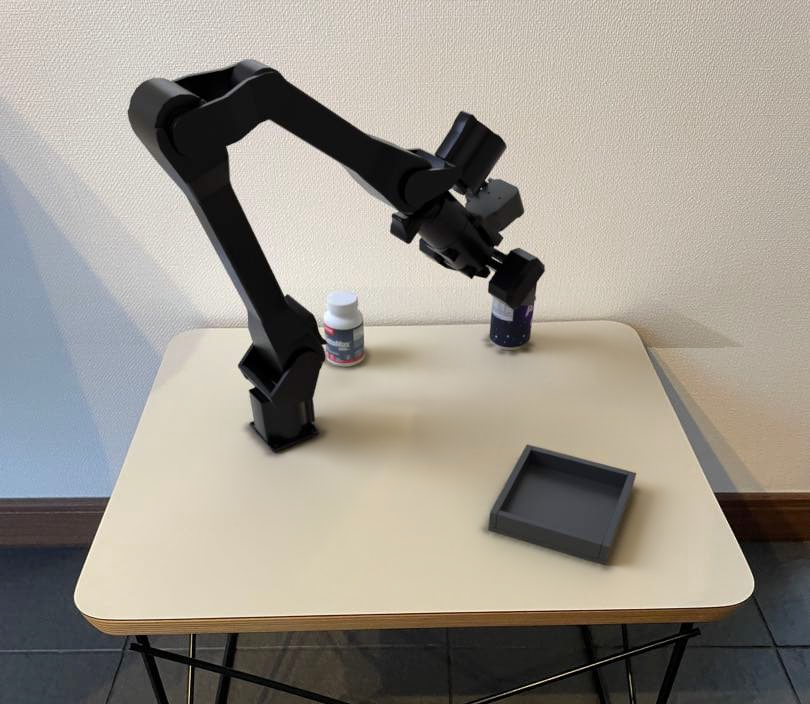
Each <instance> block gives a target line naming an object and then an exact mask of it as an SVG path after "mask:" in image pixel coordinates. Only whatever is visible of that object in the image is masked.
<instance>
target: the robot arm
mask: <svg viewBox="0 0 810 704" xmlns="http://www.w3.org/2000/svg"><path fill="white" fill-rule="evenodd" d="M127 118H128V122H129V124H130V127H131V130H132V131H133V133H134V135H135V136H136V137H137V139H138V140H139V142H140V143H141V144H142V145H143V146H144V148H146V151H148V152H149V154H150V155H151V156H152V158H153V159H154V160H155V162H156V163H157V164H158V165H159V166H160V167H161V169H162V170H163V171H164V172H165V173H166V174H167V176H168V177H169V178H170V179H171V180H172V181H173V182H174V183H175V185H176V186H177V187H178V188H179V189H180V190H181V192H182V193H183V194H184V196H185V197H186V199H187V201H188V202H189V205H190V206H191V208H192V210H193V212H194V214H195V216H196V218H197V219H198V221H199V223H200V225H201V227H202V229H203V230H204V232H205V234H206V236H207V238H208V239H209V242H210V243H211V245H212V247H213V249H214V251H215V253H216V254H217V257H218V258H219V260H220V262H221V264H222V266H223V268H224V270H225V272H226V273H227V275H228V277H229V278H230V279H229V280H231V283H232V284H233V286H234V288H235V290H236V292H237V293H238V295H239V297H240V299H241V301H242V303H243V305H244V307H245V308H246V309H245V310H246V312H247V328H248V331H249V335H250V338H251V342H252V343H251V344H250V345H249V347H248V348H247V350H246V351H245V353H244V355H243V356H242V358H241V359H240V361H239V362H238V364H237V368H238V369H239V371H240V373H241V374H242V376H243V377H244V378H245V379H246V380H248V382H250V383H251V384H252V385H253V386H254V387H252V388H249V389H248V395H249V401H250V406H251V412H252V418H253V421H250V422H249V425H248V426H249V428H250V429H251V431H252V432H253V433H254V434H255V435H256V436H257V437H258V438H259V439H260V440H261V441H262V443H264V444H265V446H266V447H267V448H268V449H269V450H270V451H271V452H274V453H275V452H276V453H277V452H279V451H281V450H284V449H286V448H289V447H291V446H294V445H297V444H300V443H301V442H304V441H306V440H309V439H311V438H313V437H316V436H318V435H319V434H320V429H319V428H318V427H317V426H316V425H315V424H314V423H315V422H316V413H315V405H314V396H315V392H316V388H317V383H318V380H319V376H320V371H321V370H322V368H323V364H324V363H325V362H326V360H327V356H326V349H325V348H324V346H326V344H327V341H326V340H325V338H323V335H322V334H321V333H320V329H319V325H318V322H317V318H316V317H315V315H314V314H313V313H312V312H311V311H310V310H308V309H307V308H306V307H305V306H304V305H302V303H300V302H298V301H297V299H295V298H294V297H293V296H291V295H290V294H289V293H287V294H286V295H285V293H284V292H283V290H282V288H281V286H280V284H279V282H278V279H277V277H276V275H275V272H274V271H273V269H272V267H271V265H270V263H269V261H268V259H267V257H266V254H265V252H264V251H263V248H262V247H261V244H260V242H259V240H258V238H257V236H256V234H255V231H254V230H253V227H252V225H251V223H250V221H249V219H248V217H247V215H246V213H245V211H244V209H243V207H242V205H241V201H240V200H239V198H238V196H237V194H236V192H235V190H234V188H233V185H232V182H231V167H230V155H229V151H228V147H229V146H231V145H234V144H236V143H238V142H240V141H242V140H243V139H244V138H245V137H246V136H248V135H249V134H250V133H251V132H253V130H254V129H256V128H257V127H258V126H259V125H260V124H263V123H264V122H267V121H270V122H271V123H273V124H275V125H276V126H278V127H280V128H281V129H283V130H284V131H286V132H287V133H289V134H291V135H292V136H294V137H296V138H297V139H299V140H301V141H302V142H304V143H306V144H307V145H308V146H310V147H312V148H313V149H315V150H317V151H319V152H320V153H322V154H324V155H325V156H327V157H329V158H330V159H332V160H334V161H335V162H336V163H338V164H339V165H340V166H341V167H342V168H343V169H345V171H346V172H347V174H348V175H349V176H350V177H351V178H352V179H353V180H354V181H355V183H357V184H358V185H359V186H360V187H361V188H362V189H363V190H364V191H366V193H368V194H369V195H370V196H371V197H373V198H375V199H377V200H379V201H380V202H382V203H383V204H385V205H387V206H388V207H391V208H392V209H394V210H396V212H393V213H392V214H391V222H390V228H389V233H390V235H392V236H394V237H395V238H397V239H398V240H400V241H402V242H403V243H405V244H406V245H410V244H412V242H413V240H414V239H415V237H416V236H417V235H418V236H419V237H420V238H419V240H418V250H419V251H420V252H421V253H422V254H423V255H424V256H426V258H428V259H430V260H432V261H433V262H435V263H436V264H438V265H440V266H441V267H443V268H445V269H448V270H452V271H454V272H460V273H461V274H462V275H463V276H465V277H467V278H469V279H470V280H473V279H474V277H477V278H482V279H488V278H489V276H490V275H491V272H492V271H493V272H494V273H493V275H492V276H491V278H490V279H489V281H488V285H487V286H488V287H487V293H488V294H489V295H490V296H492V298H493V297H494V298H495V299H497V300H498V301H499V302H501V303H503V304H504V305H506V306H508V307H509V308H511V309H512V310H514V309H517V308H519V307H520V306H521V305H529V306H531V305H532V304H533V303H534V304H535V303H536V300H537V296H536V295H535V292H534V288H533V287H534V286H535V284H536V283H537V284H538V282H539V280H540V279H541V278H542V276H543V275H544V273H546V272H545V271H546V266H545V263H543V262H542V261H541V260H540V259H539V257H537V256H535V255H534V254H531V253H530V252H528V251H527V250H525V249H523V248H520V247H516V248H513V249H510V250H509V252H508V253H504V252H502V251H500V250H499V249H497V248H495V247H499V246H500V245H501V243H502V241H503V240H504V238H505V237H504V236H503V235H502V234H501V232H503V231H504V230H505V229H506V228H508V227H510V225H511V224H512V223H513V222H515V221H516V220H517V219H520V218H521V217H522V216H523V215H524V213H525V207H524V204H523V200H522V197H521V192H520V189H519V187H517V186H516V185H514V184H511V183H510V182H507V181H505V180H503V179H502V178H495V179H494V178H492V177H489V176H490V174H491V172H492V171H493V169H494V168H495V167H496V165H497V164H498V163H499V161H500V159H501V158H502V156H503V155H504V153H505V152H506V150H507V148H508V147H507V144H506V142H505V140H504V139H503V138H502V137H501V136H500V135H499V134H497V133H495V132H494V131H493V130H491V129H490V128H489V127H488V126H486V125H485V124H484V123H482V121H479V120H478V119H477V117H476V116H475V115H474V114H473V113H471V112H468V111H465V110H459V112H458V114H457V116H456V117H455V119H454V120H453V122H452V125H451V127H450V129H449V131H448V132H447V134H446V135H445V137H444V139H443V140H442V141H441V143H440V144H439V146H438V147H437V149H436V151H435V152H434V153H431V152H430V151H429V152H428V151H427V150H425V149H424V148H423V149H422V148H421V147H414V148H412V147H411V148H404V147H401V146H399V145H398V144H396V143H393V142H391V141H389V140H386V139H383V138H381V137H379V136H376V135H373V134H370V133H367V132H364V131H363V130H361V129H360V128H358V127H357V126H355V125H354V124H352V123H350V121H348V120H346V119H345V118H343V117H342V116H340V115H339V114H337V113H336V112H335V111H333V110H331V109H330V108H328V106H326V105H324V104H322V103H321V102H320V101H318V100H316V99H315V98H313V97H312V96H311V95H309V94H308V93H306V92H305V91H303V90H302V89H300V88H299V87H297V86H296V85H294V84H293V83H291V82H290V81H288V80H287V79H286V78H285V77H284V76H283V74H282V73H281V72H280V71H279V70H278V69H275V68H273V67H272V66H269V65H267V64H265V63H262V62H260V61H258V60H256V59H253V58H246V59H242V60H241V61H238V62H234V63H232V64H230V65H228V66H225V67H221V68H215V69H210V70H206V71H200V72H194V73H189V74H186V75H183V76H180V77H177V78H175V79H172V80H169V79H167V78H165V77H151V78H149V79H146V80H143V81H142V82H141V83H140V84H138V86H137V87H136V88H135V89H134V91H133V93H132V95H131V96H130V99H129V105H128V109H127ZM488 177H489V178H488ZM487 178H488V179H487ZM450 190H453V192H456V193H457V194H459V195H461V196H464V197H465V205H463V204H462V203H461V201H459V200H458V199H457V197H455V195H453V193H452V192H451V191H450ZM506 254H508V255H506ZM499 261H500V262H502V263H500V262H499Z"/></svg>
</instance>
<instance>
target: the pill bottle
mask: <svg viewBox="0 0 810 704" xmlns="http://www.w3.org/2000/svg"><path fill="white" fill-rule="evenodd" d="M358 297H359V296H358V295H357V294H356V293H355V292H353V291H350V290H336V291H333V292H331V293H330V294H329V295H328V296H327V298H326V304H327V305H326V306H327V310H326V311H325V313H324V314H323V330H324V339H325V340H326V341H327V344H326V345H325V354H326V360H327V361H328V362H329V363H330V364H332V365H334V366H338V367H352V366H355V365H358V364H360V363H361V362H362V361H363V360H364V358H365V328H364V315H363V313H362V311H361V310H360V309H359V299H358Z"/></svg>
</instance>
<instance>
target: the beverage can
mask: <svg viewBox="0 0 810 704" xmlns="http://www.w3.org/2000/svg"><path fill="white" fill-rule="evenodd" d="M505 254H506V255H508V253H505ZM498 262H500V261H498ZM500 263H502V262H500ZM537 286H538V282H537V283H536V284H535V286H534V287H533V288H534V292H535V296H536V294H537ZM534 309H535V302H534V303H533V304H532V305H531V306H529V305H521V306H520V307H519V308H517V309H514V310H512V309H511V308H509V307H508V306H506V305H504V304H503V303H501V302H499V301H498V300H497V299H495V298H494V297H493V296H492V301H491V314H490V325H489V339H490V341H491V342H492V343H493V344H494V345H495V346H496V347H497V348H499V349H501V350H503V351H504V350H505V351H517V350H519V349H521V348H522V347H523V346H525V345H526V344H528V343H529V341H530V340H531V334H532V333H531V332H532V325H533V318H534V317H533V316H534Z"/></svg>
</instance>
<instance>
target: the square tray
mask: <svg viewBox="0 0 810 704" xmlns="http://www.w3.org/2000/svg"><path fill="white" fill-rule="evenodd" d="M636 477H637V472H634V471H631V470H627V469H623V468H619V467H616V466H611V465H607V464H604V463H600V462H597V461H593V460H588V459H584V458H581V457H577V456H574V455H569V454H566V453H562V452H558V451H554V450H550V449H547V448H542V447H539V446H536V445H531V444H526V445H525V446H524V449H523V451H522V452H521V454H520V456H519V458H518V460H517V462H516V463H515V465H514V467H513V469H512V471H511V473H510V475H509V476H508V479H507V480H506V482H505V484H504V486H503V488H502V490H501V491H500V493H499V494H498V497H497V499H496V500H495V502H494V504H493V507H492V508H491V509H490V511H489V519H488V528H487V530H488V531H490V532H493V533H495V534H496V533H497V534H500V535H504V536H506V537H510V538H514V539H517V540H519V541H522V542H523V541H524V542H526V543H529V544H534V545H536V546H540V547H543V548H546V549H549V550H550V549H551V550H553V551H557V552H559V553H563V554H566V555H569V556H573V557H577V558H579V559H583V560H586V561H589V562H593V563H597V564H600V565H603V566H605V565H607V561H608V558H609V555H610V552H611V550H612V547H613V545H614V542H615V538H616V536H617V533H618V530H619V527H620V526H621V525H620V524H621V522H622V519H623V516H624V514H625V511H626V507H627V505H628V502H629V499H630V496H631V493H632V491H633V487H634V483H635V480H636Z"/></svg>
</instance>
